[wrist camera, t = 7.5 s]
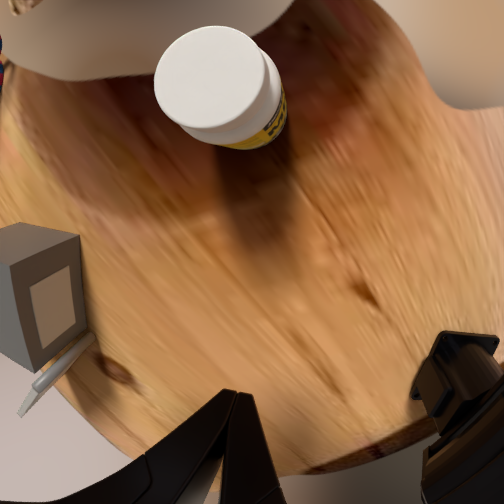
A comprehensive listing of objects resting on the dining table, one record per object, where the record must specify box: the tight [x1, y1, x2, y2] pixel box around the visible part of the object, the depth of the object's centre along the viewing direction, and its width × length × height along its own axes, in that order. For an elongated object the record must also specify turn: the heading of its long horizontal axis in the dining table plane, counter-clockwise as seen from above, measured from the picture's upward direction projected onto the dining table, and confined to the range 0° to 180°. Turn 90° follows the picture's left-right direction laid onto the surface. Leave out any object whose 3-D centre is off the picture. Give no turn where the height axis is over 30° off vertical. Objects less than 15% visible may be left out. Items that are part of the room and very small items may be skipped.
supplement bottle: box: [154, 26, 287, 150], centre depth 13 cm, size 5×5×8 cm
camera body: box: [0, 222, 87, 374], centre depth 19 cm, size 8×9×8 cm
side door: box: [17, 332, 96, 418], centre depth 21 cm, size 9×1×8 cm, turn 134°
